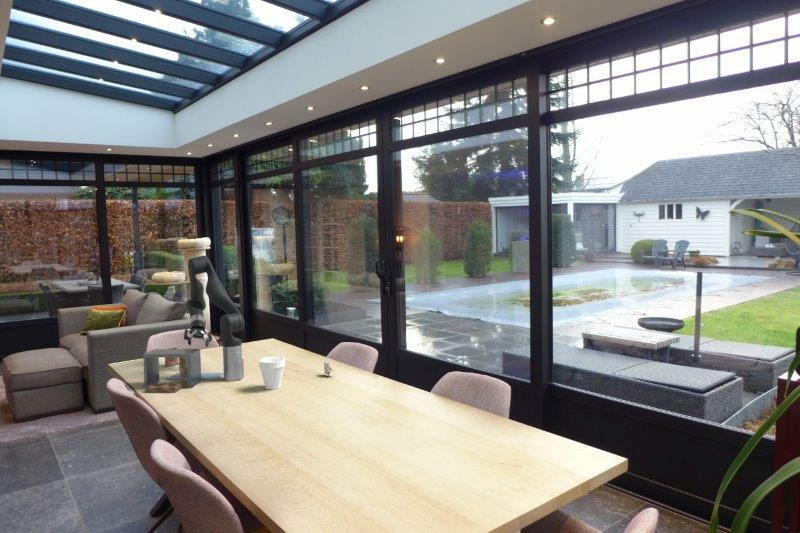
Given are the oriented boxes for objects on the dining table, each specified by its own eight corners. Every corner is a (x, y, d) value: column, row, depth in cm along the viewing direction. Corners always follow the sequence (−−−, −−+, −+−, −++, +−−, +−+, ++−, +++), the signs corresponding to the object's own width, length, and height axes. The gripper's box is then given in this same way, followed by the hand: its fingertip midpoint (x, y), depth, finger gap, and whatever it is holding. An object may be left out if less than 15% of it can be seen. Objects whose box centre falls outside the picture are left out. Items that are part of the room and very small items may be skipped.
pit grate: (181, 388, 270) (181, 383, 269) (175, 392, 263) (174, 387, 262) (153, 388, 270) (153, 383, 270) (145, 392, 263) (145, 387, 263)
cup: (279, 391, 262) (278, 362, 261) (255, 390, 264) (254, 362, 263) (290, 384, 274) (289, 356, 273) (266, 383, 276) (265, 356, 275)
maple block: (191, 375, 292) (191, 354, 292) (188, 377, 288) (187, 356, 287) (183, 375, 293) (182, 354, 292) (179, 377, 288) (178, 356, 288)
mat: (224, 373, 296) (224, 372, 296) (216, 379, 284) (216, 378, 284) (176, 373, 298) (176, 372, 298) (166, 379, 286) (166, 378, 286)
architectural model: (330, 374, 293) (330, 360, 293) (335, 377, 287) (335, 363, 286) (324, 375, 291) (324, 361, 291) (329, 378, 285) (328, 364, 285)
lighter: (166, 367, 312) (166, 349, 311) (163, 366, 314) (162, 349, 313) (180, 364, 318) (179, 347, 318) (176, 363, 321) (176, 346, 320)
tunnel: (201, 381, 282) (200, 348, 281) (191, 388, 270) (190, 354, 269) (156, 381, 283) (155, 349, 282) (144, 388, 271) (143, 354, 270)
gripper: (185, 318, 306) (186, 338, 294) (212, 320, 313) (213, 341, 301) (182, 328, 310) (183, 349, 298) (208, 330, 316) (210, 351, 304)
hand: (198, 345), depth 299 cm, fingers open, 8 cm apart
